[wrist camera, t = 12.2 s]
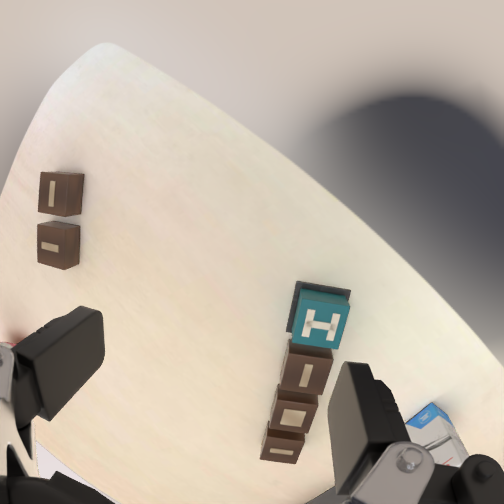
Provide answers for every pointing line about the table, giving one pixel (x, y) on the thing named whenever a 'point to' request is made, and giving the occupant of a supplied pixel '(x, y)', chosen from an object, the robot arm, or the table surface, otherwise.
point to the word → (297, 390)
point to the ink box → (437, 436)
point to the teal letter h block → (320, 319)
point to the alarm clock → (329, 498)
